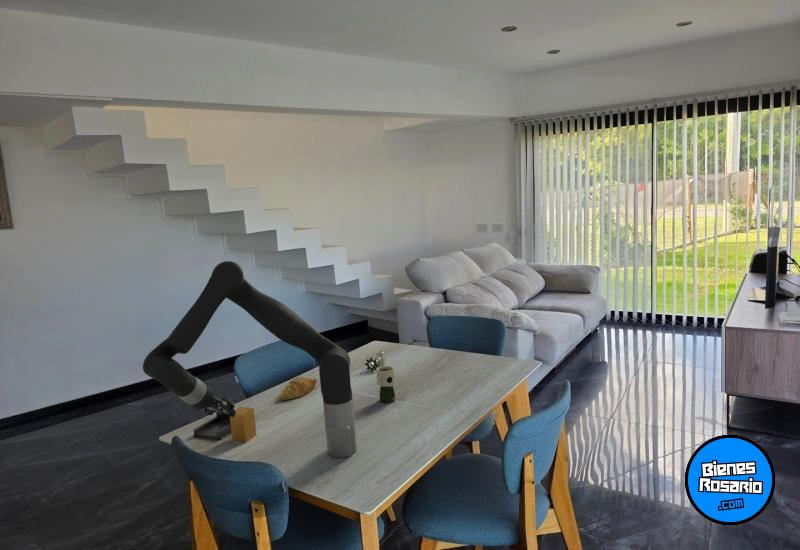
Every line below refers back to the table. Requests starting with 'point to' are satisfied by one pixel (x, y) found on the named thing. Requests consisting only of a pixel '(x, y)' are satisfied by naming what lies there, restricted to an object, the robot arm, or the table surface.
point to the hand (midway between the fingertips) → (223, 413)
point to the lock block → (243, 425)
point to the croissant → (297, 388)
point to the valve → (376, 361)
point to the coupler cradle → (214, 427)
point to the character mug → (386, 382)
